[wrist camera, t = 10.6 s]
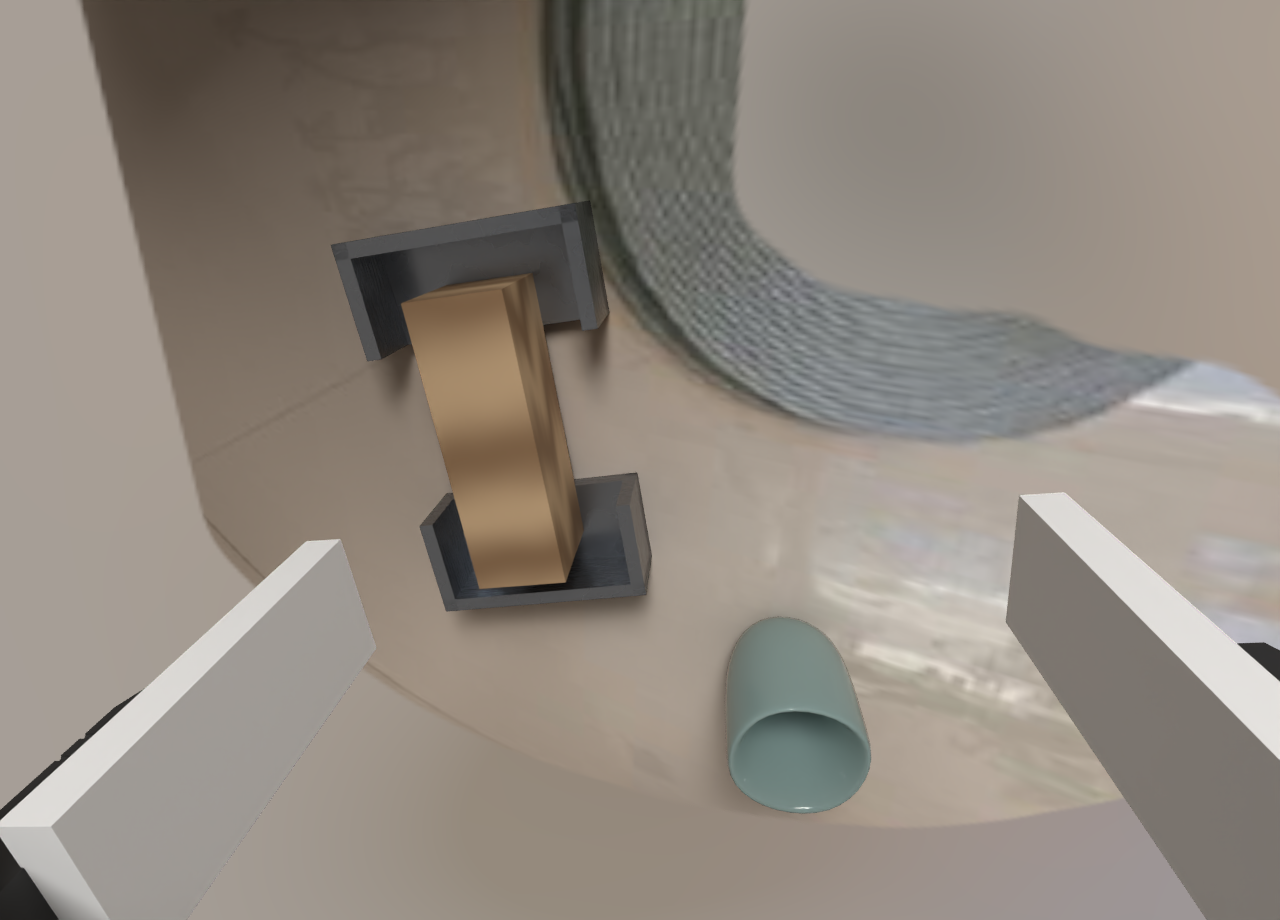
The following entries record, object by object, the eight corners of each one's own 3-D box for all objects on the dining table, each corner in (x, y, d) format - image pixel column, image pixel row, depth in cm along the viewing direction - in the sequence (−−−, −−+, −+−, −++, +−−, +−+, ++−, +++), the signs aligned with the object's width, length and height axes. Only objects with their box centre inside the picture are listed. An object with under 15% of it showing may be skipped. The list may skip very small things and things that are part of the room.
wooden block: (446, 285, 37) (400, 303, 32) (532, 272, 37) (501, 289, 31) (508, 536, 43) (479, 589, 38) (584, 530, 43) (565, 582, 37)
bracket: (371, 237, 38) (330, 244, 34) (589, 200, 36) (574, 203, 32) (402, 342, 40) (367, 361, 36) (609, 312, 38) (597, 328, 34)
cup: (709, 674, 47) (709, 794, 38) (743, 585, 44) (753, 691, 35) (814, 703, 47) (841, 829, 38) (856, 616, 44) (895, 730, 35)
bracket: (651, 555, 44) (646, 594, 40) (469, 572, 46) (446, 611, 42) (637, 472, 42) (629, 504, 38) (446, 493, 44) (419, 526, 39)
